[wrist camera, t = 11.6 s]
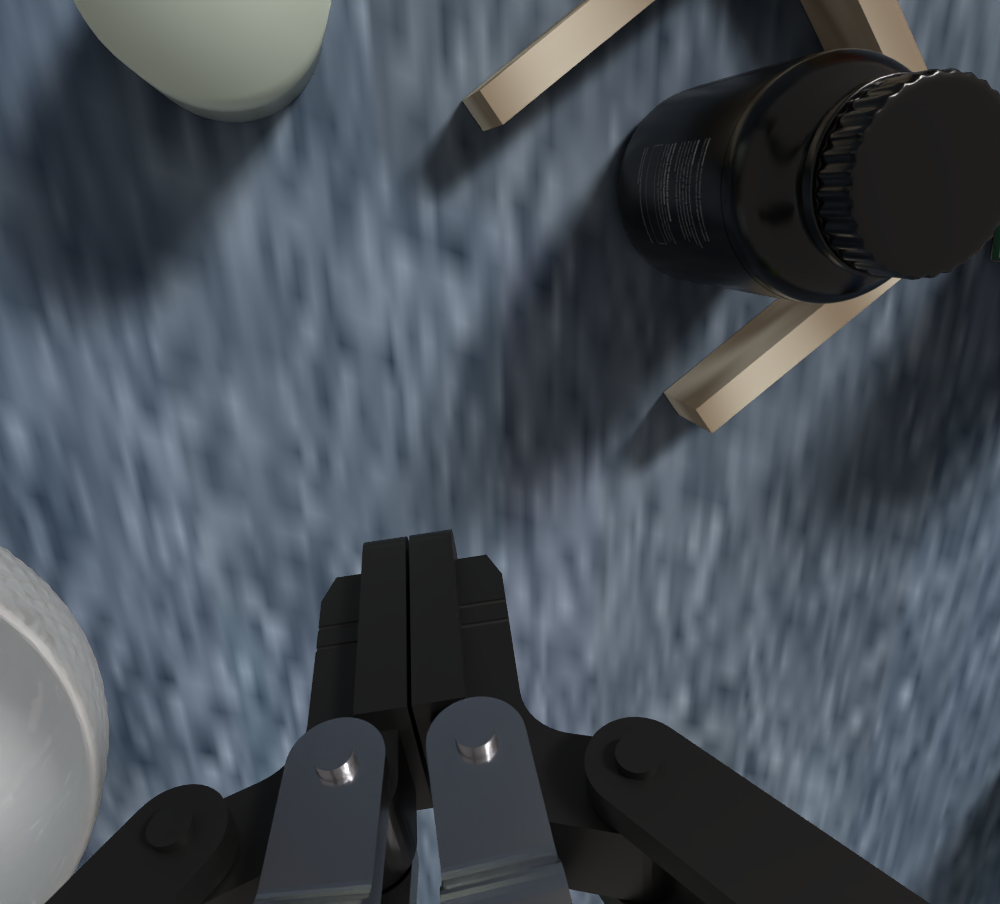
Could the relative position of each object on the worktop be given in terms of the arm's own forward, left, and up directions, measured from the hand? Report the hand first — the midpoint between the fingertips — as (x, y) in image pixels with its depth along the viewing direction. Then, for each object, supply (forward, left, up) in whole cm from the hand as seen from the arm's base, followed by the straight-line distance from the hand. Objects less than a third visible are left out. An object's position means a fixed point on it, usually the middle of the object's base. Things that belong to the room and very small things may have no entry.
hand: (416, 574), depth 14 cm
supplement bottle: (+12, +8, -17) cm, 22 cm away
